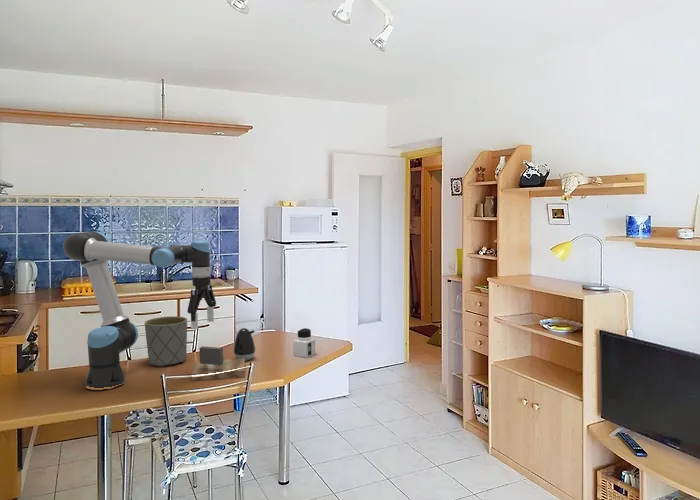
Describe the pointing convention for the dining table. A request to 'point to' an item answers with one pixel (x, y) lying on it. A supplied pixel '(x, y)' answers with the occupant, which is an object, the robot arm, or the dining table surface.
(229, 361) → the tuner board
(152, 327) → the planter
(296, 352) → the container
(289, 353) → the dining table surface
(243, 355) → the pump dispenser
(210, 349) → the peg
